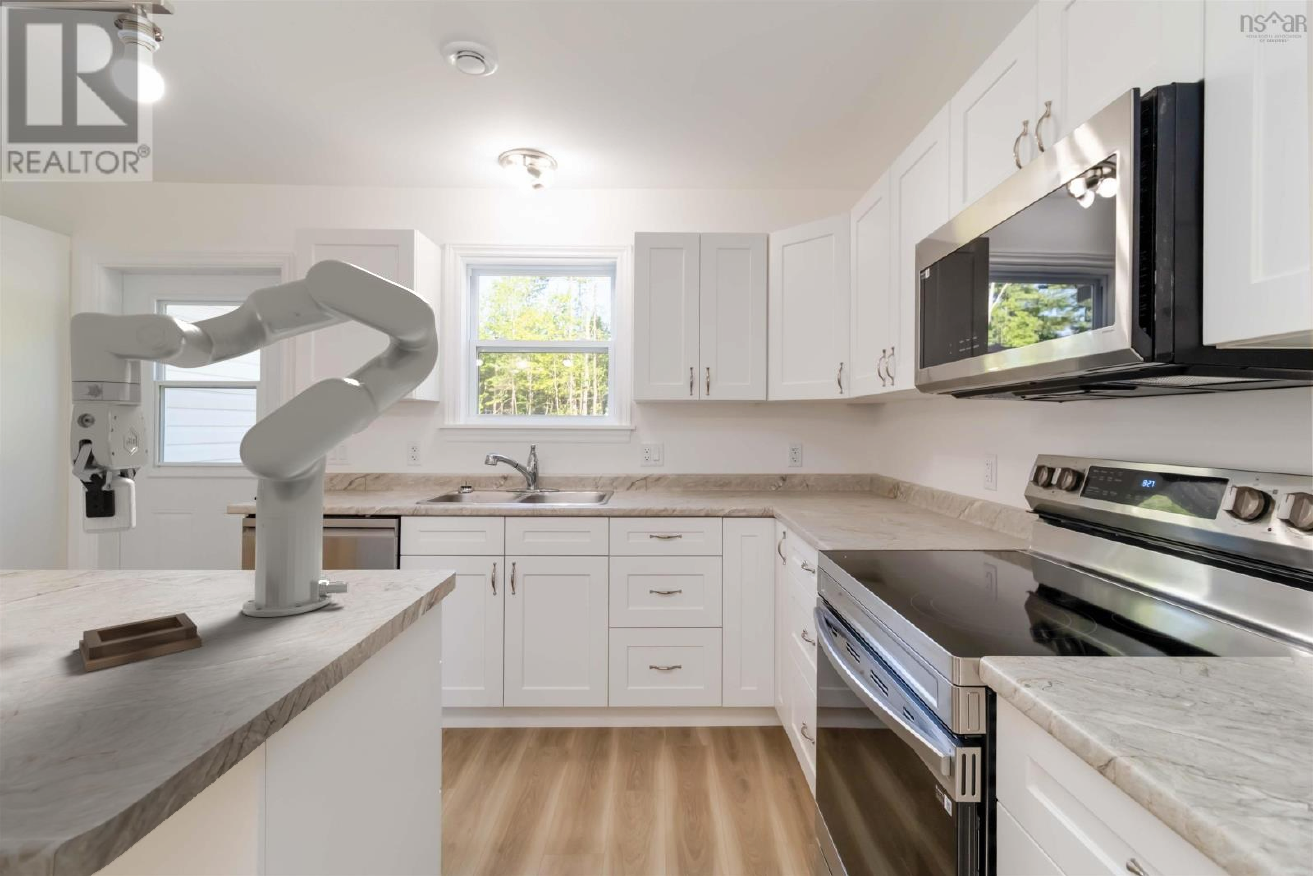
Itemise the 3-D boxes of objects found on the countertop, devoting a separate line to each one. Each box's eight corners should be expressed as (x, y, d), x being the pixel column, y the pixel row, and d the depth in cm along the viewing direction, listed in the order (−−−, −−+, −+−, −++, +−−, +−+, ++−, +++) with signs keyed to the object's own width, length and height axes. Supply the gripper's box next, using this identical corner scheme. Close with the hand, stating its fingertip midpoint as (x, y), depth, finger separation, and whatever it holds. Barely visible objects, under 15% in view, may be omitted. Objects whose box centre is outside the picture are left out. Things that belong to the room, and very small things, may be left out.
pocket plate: (185, 626, 82) (185, 610, 82) (201, 646, 75) (201, 628, 75) (79, 648, 73) (79, 629, 73) (86, 672, 66) (86, 651, 66)
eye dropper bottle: (113, 534, 81) (112, 453, 81) (76, 534, 81) (75, 454, 81) (141, 528, 85) (140, 452, 85) (106, 528, 85) (105, 452, 85)
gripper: (101, 392, 76) (104, 522, 76) (167, 398, 92) (170, 506, 92) (32, 391, 74) (35, 525, 74) (112, 398, 90) (114, 508, 90)
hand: (110, 513), depth 83 cm, fingers closed on eye dropper bottle, 3 cm apart
